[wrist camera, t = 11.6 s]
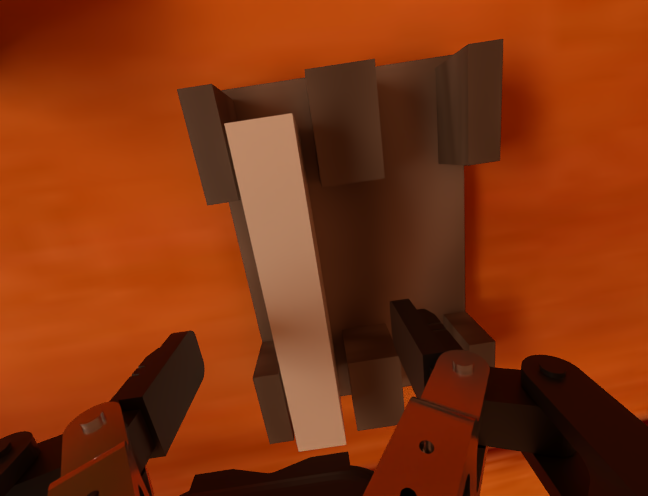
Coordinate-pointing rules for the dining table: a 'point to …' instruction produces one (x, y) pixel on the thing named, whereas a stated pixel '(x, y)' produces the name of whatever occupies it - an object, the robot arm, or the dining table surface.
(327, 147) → the dark grey holder
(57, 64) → the dining table surface
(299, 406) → the clay strip
